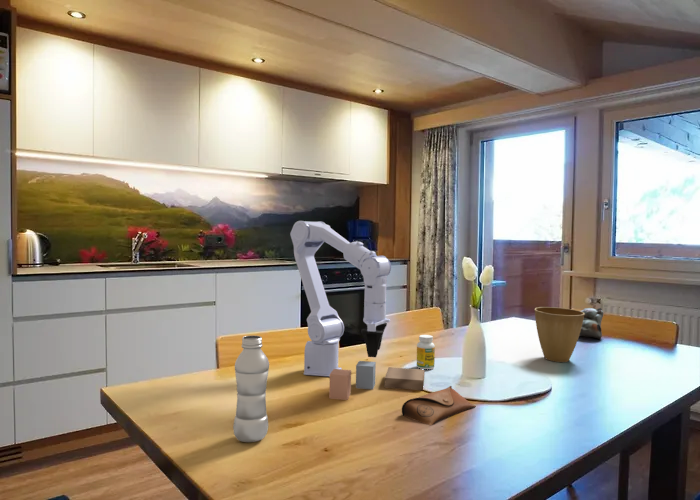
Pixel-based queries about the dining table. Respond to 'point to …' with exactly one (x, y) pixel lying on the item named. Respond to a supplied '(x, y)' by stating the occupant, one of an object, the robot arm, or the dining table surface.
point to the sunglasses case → (435, 406)
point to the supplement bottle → (425, 352)
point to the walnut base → (404, 378)
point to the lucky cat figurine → (592, 323)
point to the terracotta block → (340, 384)
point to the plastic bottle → (251, 391)
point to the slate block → (365, 374)
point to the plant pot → (558, 331)
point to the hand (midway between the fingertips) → (374, 353)
